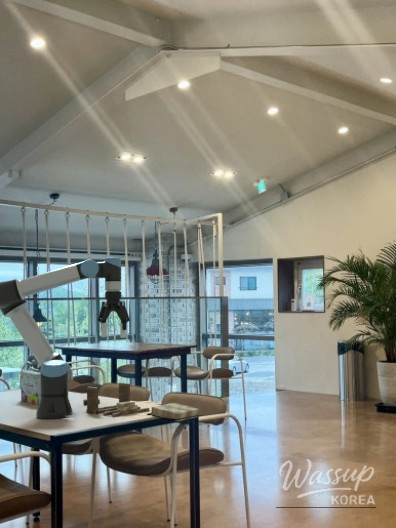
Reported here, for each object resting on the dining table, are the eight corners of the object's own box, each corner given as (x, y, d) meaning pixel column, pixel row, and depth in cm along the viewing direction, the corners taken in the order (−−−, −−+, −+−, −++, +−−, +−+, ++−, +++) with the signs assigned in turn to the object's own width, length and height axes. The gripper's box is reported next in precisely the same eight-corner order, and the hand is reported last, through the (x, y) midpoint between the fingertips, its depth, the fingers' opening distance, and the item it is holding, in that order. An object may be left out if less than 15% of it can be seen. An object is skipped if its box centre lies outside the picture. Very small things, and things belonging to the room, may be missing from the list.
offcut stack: (122, 414, 277) (122, 404, 277) (115, 413, 280) (115, 403, 280) (138, 412, 284) (138, 401, 284) (131, 411, 287) (131, 400, 287)
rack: (111, 419, 271) (111, 390, 272) (83, 415, 284) (83, 387, 285) (151, 412, 287) (150, 385, 288) (122, 408, 300) (122, 382, 301)
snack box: (19, 400, 333) (20, 370, 334) (30, 399, 337) (30, 370, 338) (36, 405, 316) (36, 373, 317) (47, 404, 320) (47, 373, 321)
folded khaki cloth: (151, 414, 280) (177, 421, 270) (151, 406, 280) (177, 413, 270) (173, 409, 291) (199, 416, 281) (173, 402, 291) (199, 409, 281)
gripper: (137, 290, 296) (137, 337, 295) (102, 291, 313) (102, 336, 312) (124, 290, 291) (125, 338, 289) (89, 291, 308) (90, 337, 307)
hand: (113, 337), depth 301 cm, fingers open, 13 cm apart
